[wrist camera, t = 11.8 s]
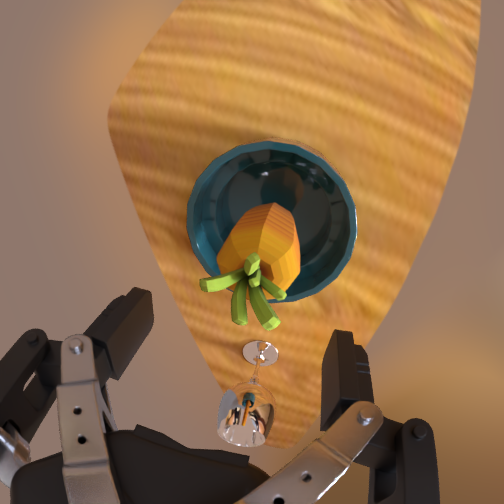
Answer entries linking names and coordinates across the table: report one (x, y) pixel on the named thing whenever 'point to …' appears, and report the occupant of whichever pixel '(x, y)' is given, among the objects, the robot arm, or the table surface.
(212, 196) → the bowl
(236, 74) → the table surface
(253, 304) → the carrot
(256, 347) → the wineglass
